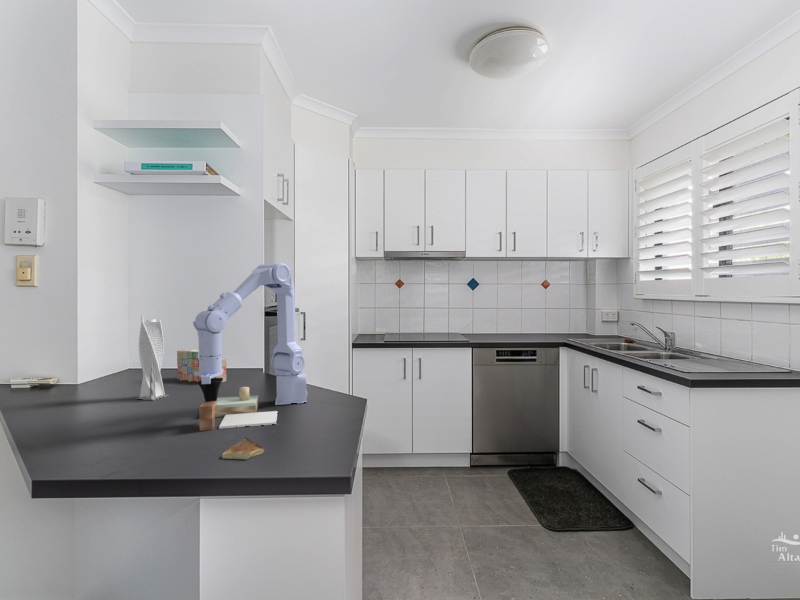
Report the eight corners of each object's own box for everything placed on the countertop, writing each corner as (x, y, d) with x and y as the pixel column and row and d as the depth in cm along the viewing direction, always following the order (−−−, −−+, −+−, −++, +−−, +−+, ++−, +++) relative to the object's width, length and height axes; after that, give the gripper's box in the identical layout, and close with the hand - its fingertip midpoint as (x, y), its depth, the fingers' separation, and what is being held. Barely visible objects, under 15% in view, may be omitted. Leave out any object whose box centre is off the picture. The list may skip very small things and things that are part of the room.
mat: (277, 413, 130) (277, 411, 130) (276, 424, 118) (276, 422, 118) (225, 416, 126) (225, 414, 126) (219, 428, 115) (219, 426, 115)
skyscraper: (131, 399, 149) (130, 315, 149) (150, 394, 157) (149, 314, 157) (153, 400, 147) (151, 315, 147) (171, 395, 155) (169, 314, 155)
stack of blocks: (227, 381, 181) (226, 350, 181) (214, 384, 175) (213, 352, 175) (190, 377, 190) (189, 348, 190) (177, 380, 185) (176, 350, 185)
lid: (258, 397, 138) (258, 383, 138) (255, 405, 129) (255, 390, 129) (212, 400, 135) (212, 386, 135) (206, 408, 126) (206, 393, 126)
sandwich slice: (246, 443, 104) (245, 436, 104) (277, 444, 103) (277, 437, 103) (220, 460, 94) (220, 452, 94) (254, 462, 92) (254, 453, 92)
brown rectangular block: (216, 422, 120) (216, 400, 120) (212, 429, 114) (212, 406, 114) (204, 423, 120) (204, 400, 120) (199, 430, 113) (199, 406, 113)
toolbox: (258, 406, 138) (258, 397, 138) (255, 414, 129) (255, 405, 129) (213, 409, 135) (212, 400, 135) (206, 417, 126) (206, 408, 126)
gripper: (199, 352, 127) (200, 401, 127) (188, 359, 113) (189, 413, 113) (226, 351, 129) (227, 399, 129) (218, 358, 115) (219, 411, 115)
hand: (211, 406), depth 121 cm, fingers closed
